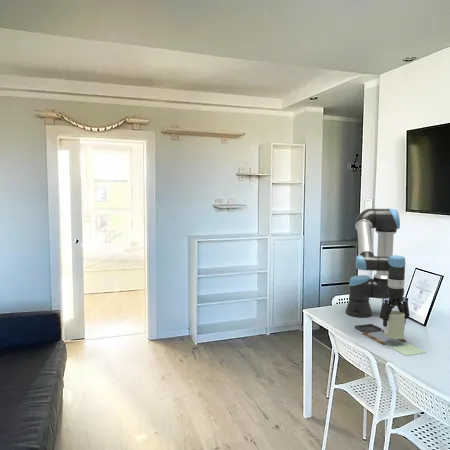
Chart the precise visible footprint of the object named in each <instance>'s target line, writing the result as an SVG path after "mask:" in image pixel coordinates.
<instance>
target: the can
mask: <svg viewBox="0 0 450 450" xmlns="http://www.w3.org/2000/svg"><path fill="white" fill-rule="evenodd" d="M404 318H405V314H404V313H402V312H399V310H393V309H392V311H391V314H389V318H388V320H389V334H387V333H385V332H383V335H384V336H385V337H387V338H390V339H395V340H399V339H402V338H403V339H405V329H404Z"/></svg>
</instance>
